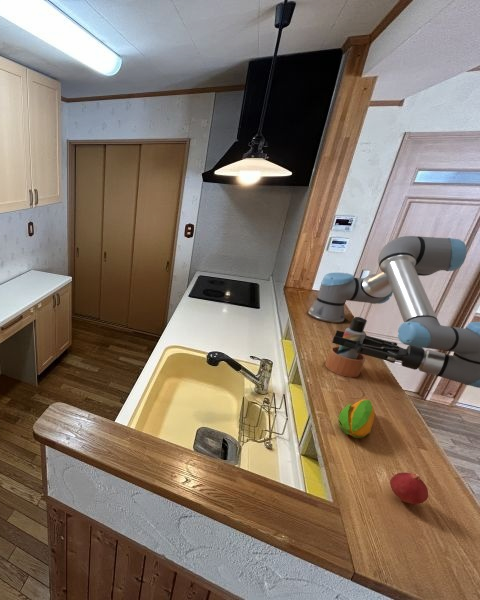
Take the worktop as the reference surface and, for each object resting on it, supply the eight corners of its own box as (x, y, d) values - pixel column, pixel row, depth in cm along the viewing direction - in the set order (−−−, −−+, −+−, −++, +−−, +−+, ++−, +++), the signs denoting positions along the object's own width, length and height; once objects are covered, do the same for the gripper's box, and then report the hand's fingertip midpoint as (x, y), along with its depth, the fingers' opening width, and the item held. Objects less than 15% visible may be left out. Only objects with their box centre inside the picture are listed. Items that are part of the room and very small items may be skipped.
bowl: (350, 364, 125) (356, 348, 122) (364, 379, 116) (371, 362, 113) (320, 360, 127) (325, 344, 125) (332, 374, 118) (338, 358, 115)
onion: (378, 489, 74) (390, 463, 71) (400, 487, 75) (414, 461, 72) (403, 513, 69) (418, 486, 66) (428, 511, 69) (443, 485, 66)
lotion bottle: (345, 363, 123) (363, 315, 116) (356, 371, 118) (374, 322, 111) (329, 362, 124) (346, 314, 117) (339, 370, 119) (357, 321, 112)
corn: (339, 411, 87) (356, 383, 100) (329, 432, 90) (346, 402, 103) (374, 428, 82) (387, 396, 95) (361, 450, 85) (375, 416, 98)
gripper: (417, 381, 101) (327, 354, 115) (415, 358, 113) (335, 337, 128) (427, 360, 98) (334, 335, 113) (424, 340, 111) (340, 320, 125)
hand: (334, 336), depth 120 cm, fingers closed on lotion bottle, 6 cm apart
